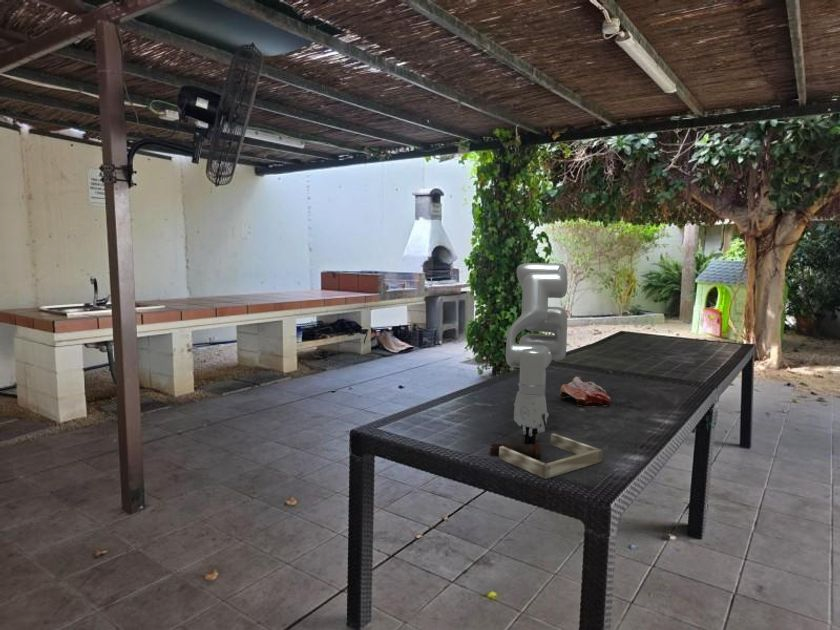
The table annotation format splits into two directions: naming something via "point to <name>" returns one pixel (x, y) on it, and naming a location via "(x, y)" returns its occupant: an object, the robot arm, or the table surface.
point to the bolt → (520, 448)
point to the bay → (582, 459)
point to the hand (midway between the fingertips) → (529, 447)
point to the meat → (585, 393)
